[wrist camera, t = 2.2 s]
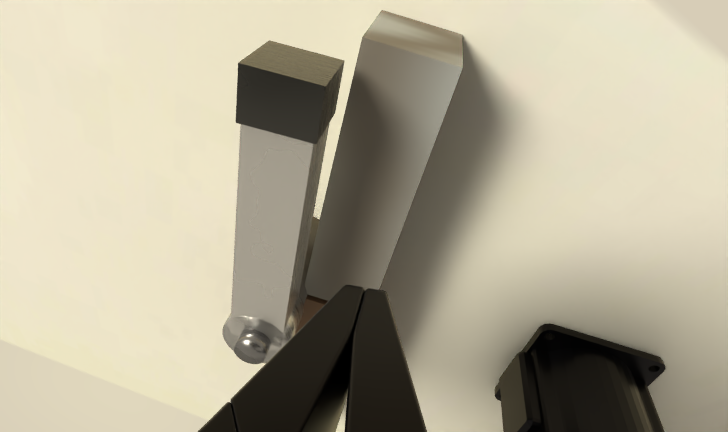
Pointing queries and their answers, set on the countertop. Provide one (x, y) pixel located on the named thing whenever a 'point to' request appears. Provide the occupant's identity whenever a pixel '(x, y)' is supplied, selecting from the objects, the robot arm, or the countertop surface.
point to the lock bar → (276, 190)
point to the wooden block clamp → (380, 154)
